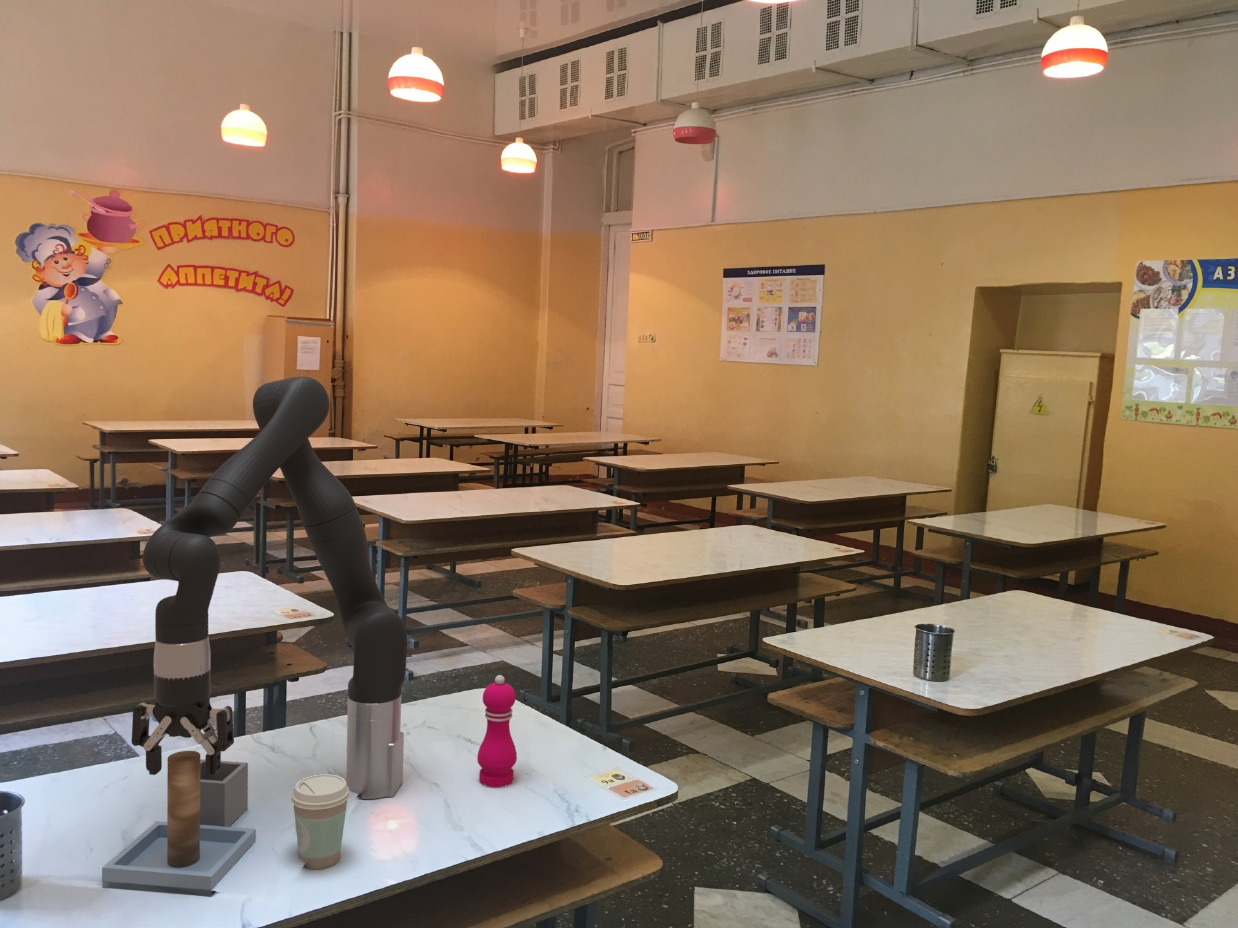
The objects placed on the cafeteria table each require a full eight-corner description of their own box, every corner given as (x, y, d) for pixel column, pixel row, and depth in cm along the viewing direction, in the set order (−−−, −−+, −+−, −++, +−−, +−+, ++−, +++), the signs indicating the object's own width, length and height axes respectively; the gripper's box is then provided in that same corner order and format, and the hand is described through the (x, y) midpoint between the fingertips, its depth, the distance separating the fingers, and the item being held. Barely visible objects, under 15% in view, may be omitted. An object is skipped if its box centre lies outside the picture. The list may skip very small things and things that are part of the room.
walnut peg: (205, 853, 143) (206, 751, 142) (190, 868, 139) (190, 763, 137) (177, 851, 144) (177, 749, 142) (161, 866, 139) (161, 761, 138)
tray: (255, 847, 148) (255, 828, 148) (211, 896, 134) (211, 876, 134) (156, 839, 149) (156, 820, 149) (102, 887, 135) (102, 867, 135)
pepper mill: (469, 783, 174) (472, 677, 172) (489, 768, 180) (492, 666, 178) (504, 791, 171) (507, 684, 169) (522, 776, 178) (526, 672, 176)
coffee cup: (298, 845, 149) (299, 771, 148) (353, 845, 150) (354, 772, 149) (283, 874, 141) (284, 796, 139) (342, 874, 141) (343, 797, 140)
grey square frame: (247, 814, 158) (247, 762, 157) (224, 837, 150) (224, 783, 149) (201, 810, 159) (201, 759, 158) (175, 834, 151) (175, 779, 150)
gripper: (241, 662, 142) (242, 767, 143) (149, 657, 142) (150, 760, 144) (217, 678, 134) (218, 788, 136) (120, 673, 135) (121, 782, 137)
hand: (183, 774), depth 140 cm, fingers open, 8 cm apart
